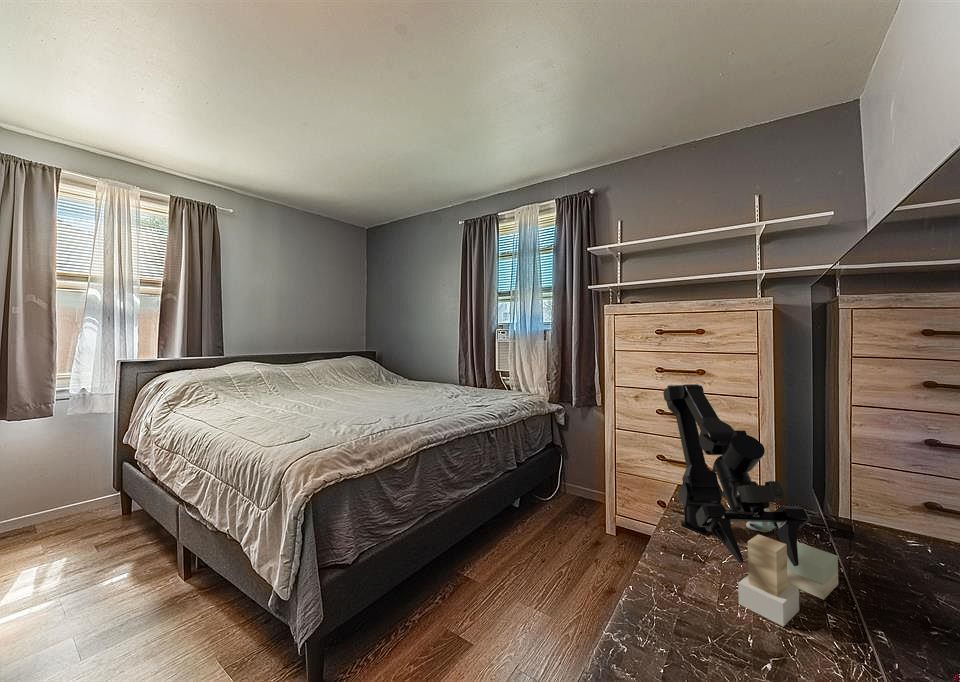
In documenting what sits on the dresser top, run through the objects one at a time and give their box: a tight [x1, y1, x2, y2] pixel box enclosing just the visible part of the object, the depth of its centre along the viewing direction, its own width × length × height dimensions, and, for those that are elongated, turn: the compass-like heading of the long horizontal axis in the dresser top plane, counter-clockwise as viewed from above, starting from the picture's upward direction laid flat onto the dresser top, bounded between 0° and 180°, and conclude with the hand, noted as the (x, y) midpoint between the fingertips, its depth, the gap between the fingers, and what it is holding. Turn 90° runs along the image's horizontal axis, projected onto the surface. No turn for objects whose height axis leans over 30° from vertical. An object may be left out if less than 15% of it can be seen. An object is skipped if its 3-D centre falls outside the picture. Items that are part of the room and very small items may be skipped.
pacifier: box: [745, 507, 777, 533], centre depth 100 cm, size 7×6×6 cm
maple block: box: [747, 533, 788, 597], centre depth 71 cm, size 4×4×8 cm
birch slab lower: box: [787, 570, 839, 601], centre depth 78 cm, size 8×8×3 cm
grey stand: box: [737, 574, 800, 628], centre depth 71 cm, size 7×7×4 cm
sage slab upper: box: [787, 541, 839, 585], centre depth 78 cm, size 8×8×3 cm
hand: (768, 564), depth 71 cm, fingers open, 9 cm apart
